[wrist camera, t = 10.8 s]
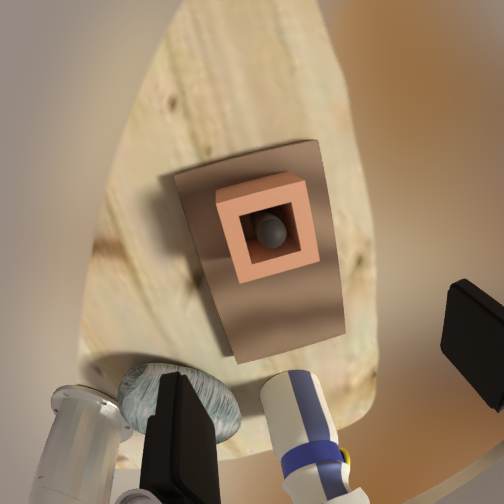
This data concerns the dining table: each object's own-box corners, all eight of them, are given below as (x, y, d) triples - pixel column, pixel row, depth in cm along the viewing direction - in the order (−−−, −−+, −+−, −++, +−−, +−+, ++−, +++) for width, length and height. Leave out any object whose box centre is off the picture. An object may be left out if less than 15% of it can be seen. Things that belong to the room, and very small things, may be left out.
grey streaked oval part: (105, 409, 30) (118, 458, 21) (122, 338, 31) (139, 373, 23) (203, 423, 37) (239, 464, 28) (223, 362, 38) (266, 393, 30)
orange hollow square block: (301, 238, 27) (320, 261, 22) (235, 256, 27) (239, 283, 22) (287, 171, 24) (304, 180, 20) (215, 190, 24) (215, 203, 20)
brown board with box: (341, 325, 33) (367, 369, 26) (236, 355, 33) (242, 406, 26) (312, 139, 25) (347, 143, 18) (175, 173, 25) (160, 189, 18)
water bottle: (333, 366, 35) (414, 547, 12) (310, 410, 38) (363, 570, 15) (269, 363, 34) (324, 577, 10) (252, 409, 36) (285, 588, 13)
